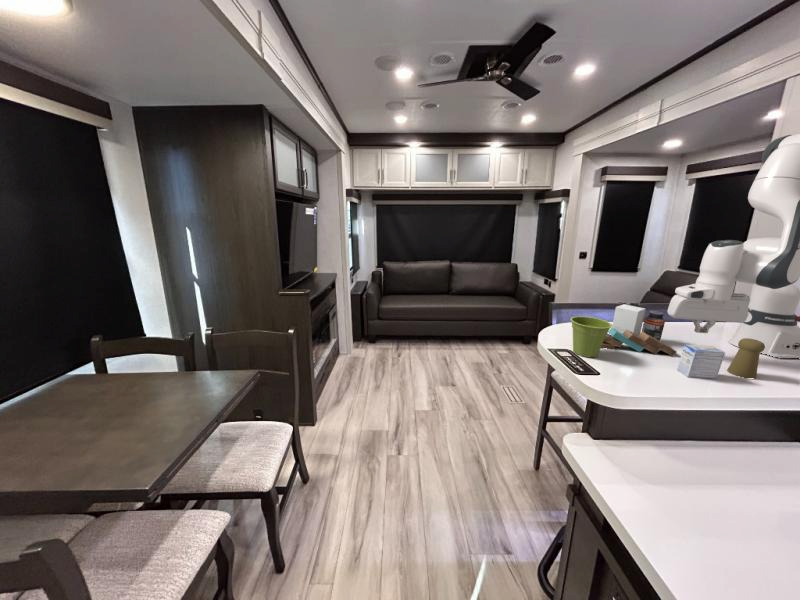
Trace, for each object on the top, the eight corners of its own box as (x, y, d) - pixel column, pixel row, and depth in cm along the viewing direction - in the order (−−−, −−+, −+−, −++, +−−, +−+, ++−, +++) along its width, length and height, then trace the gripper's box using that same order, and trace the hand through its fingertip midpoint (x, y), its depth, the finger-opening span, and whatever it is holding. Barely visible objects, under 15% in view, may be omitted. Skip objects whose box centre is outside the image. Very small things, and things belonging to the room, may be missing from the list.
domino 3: (638, 342, 112) (611, 327, 113) (644, 347, 107) (616, 332, 108) (634, 346, 112) (608, 331, 114) (639, 352, 108) (612, 336, 109)
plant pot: (598, 348, 110) (605, 318, 107) (610, 363, 99) (618, 330, 96) (561, 344, 113) (567, 314, 110) (569, 358, 102) (575, 325, 99)
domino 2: (619, 338, 113) (590, 326, 116) (623, 342, 109) (592, 331, 111) (616, 343, 114) (587, 331, 116) (620, 347, 109) (590, 335, 112)
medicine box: (704, 372, 95) (712, 345, 93) (717, 379, 91) (726, 351, 88) (676, 370, 96) (683, 343, 93) (687, 377, 91) (695, 350, 89)
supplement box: (639, 340, 118) (647, 308, 115) (630, 344, 114) (638, 311, 111) (617, 334, 124) (624, 303, 121) (608, 338, 120) (615, 306, 116)
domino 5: (668, 345, 109) (642, 331, 110) (677, 351, 105) (649, 336, 106) (664, 350, 110) (638, 335, 111) (672, 356, 105) (644, 341, 106)
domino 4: (653, 344, 110) (626, 329, 111) (660, 349, 106) (632, 334, 107) (649, 348, 111) (622, 333, 112) (655, 354, 106) (627, 338, 108)
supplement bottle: (647, 337, 122) (654, 309, 119) (663, 343, 116) (671, 314, 113) (635, 338, 120) (642, 310, 117) (651, 344, 114) (659, 315, 111)
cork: (750, 380, 91) (763, 345, 88) (722, 371, 96) (734, 337, 93) (760, 376, 93) (772, 342, 90) (732, 367, 98) (744, 334, 95)
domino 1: (609, 340, 114) (578, 337, 116) (614, 346, 109) (583, 342, 111) (607, 345, 114) (577, 342, 116) (613, 351, 110) (582, 347, 112)
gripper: (743, 291, 101) (731, 331, 105) (670, 287, 106) (660, 326, 110) (760, 296, 96) (746, 338, 99) (681, 292, 100) (671, 333, 104)
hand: (700, 332), depth 104 cm, fingers closed
